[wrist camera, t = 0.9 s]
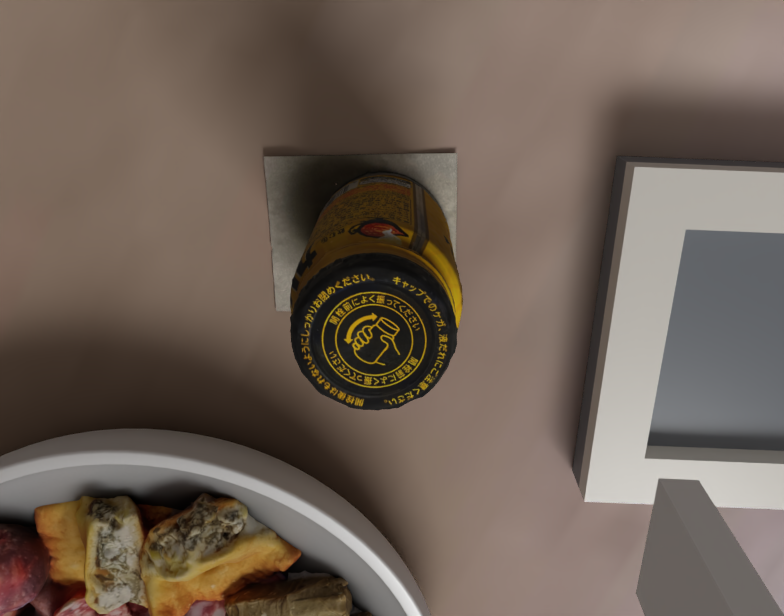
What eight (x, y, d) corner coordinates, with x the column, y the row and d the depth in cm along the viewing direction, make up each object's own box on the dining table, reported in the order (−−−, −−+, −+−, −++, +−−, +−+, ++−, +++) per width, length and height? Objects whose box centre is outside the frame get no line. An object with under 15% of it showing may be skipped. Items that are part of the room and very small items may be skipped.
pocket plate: (884, 482, 38) (918, 514, 36) (572, 470, 38) (584, 501, 36) (982, 170, 33) (1031, 182, 30) (616, 155, 33) (634, 166, 30)
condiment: (455, 307, 36) (479, 437, 24) (276, 309, 36) (218, 440, 24) (456, 152, 33) (484, 217, 22) (264, 155, 33) (193, 221, 22)
